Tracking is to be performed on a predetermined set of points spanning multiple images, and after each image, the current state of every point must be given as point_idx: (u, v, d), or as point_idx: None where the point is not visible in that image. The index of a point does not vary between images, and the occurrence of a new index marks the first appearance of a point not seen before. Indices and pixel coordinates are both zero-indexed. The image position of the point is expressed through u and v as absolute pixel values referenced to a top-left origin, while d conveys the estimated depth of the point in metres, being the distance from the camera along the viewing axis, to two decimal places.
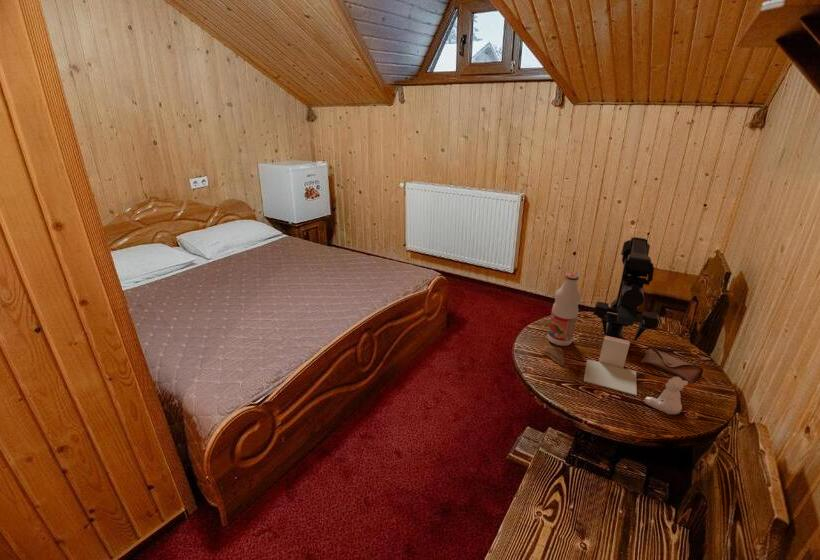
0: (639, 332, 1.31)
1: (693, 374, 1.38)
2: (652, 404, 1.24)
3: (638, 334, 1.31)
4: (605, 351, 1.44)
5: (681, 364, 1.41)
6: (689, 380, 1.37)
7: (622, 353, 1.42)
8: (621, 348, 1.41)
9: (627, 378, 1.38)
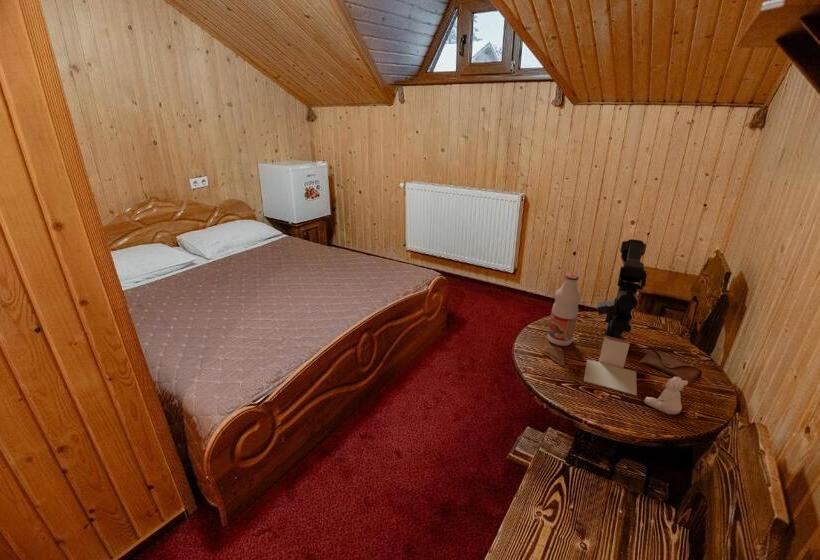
0: None
1: (691, 376, 1.37)
2: (652, 404, 1.24)
3: (614, 330, 1.48)
4: (605, 351, 1.44)
5: (680, 365, 1.40)
6: None
7: (622, 353, 1.42)
8: (621, 348, 1.41)
9: (627, 378, 1.38)
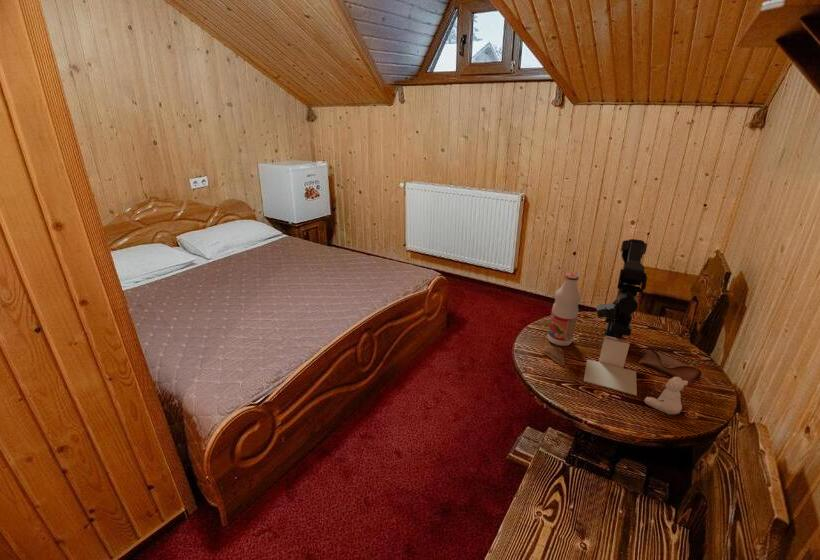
0: None
1: (691, 376, 1.37)
2: (652, 404, 1.24)
3: (614, 333, 1.45)
4: (605, 351, 1.44)
5: (679, 365, 1.40)
6: None
7: (622, 353, 1.42)
8: (621, 348, 1.41)
9: (627, 378, 1.38)
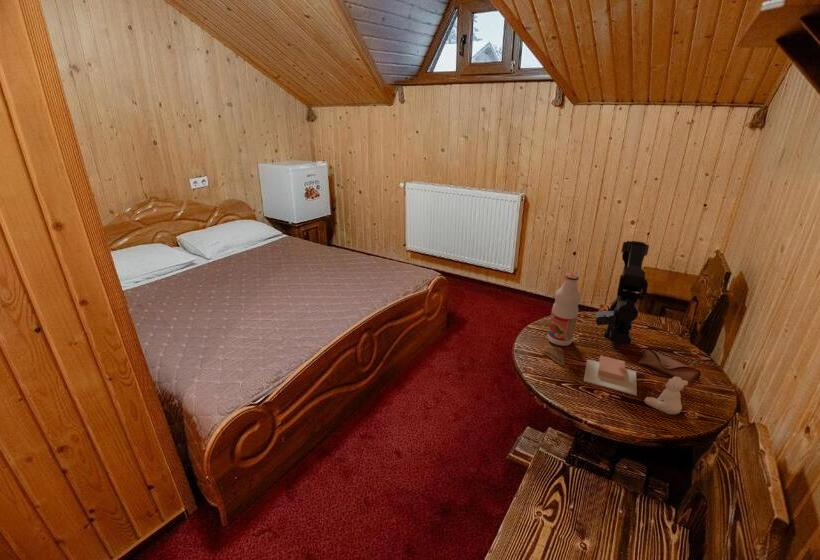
0: None
1: (690, 376, 1.37)
2: (652, 404, 1.24)
3: None
4: None
5: (678, 366, 1.39)
6: None
7: None
8: None
9: (627, 378, 1.38)
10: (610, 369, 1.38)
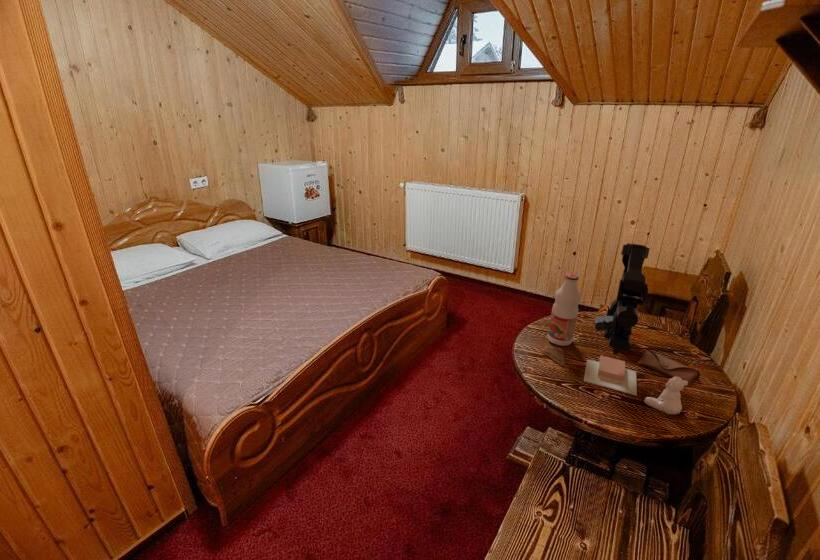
0: None
1: (689, 377, 1.36)
2: (652, 404, 1.24)
3: None
4: None
5: (678, 366, 1.39)
6: None
7: None
8: None
9: (627, 378, 1.38)
10: (610, 369, 1.38)
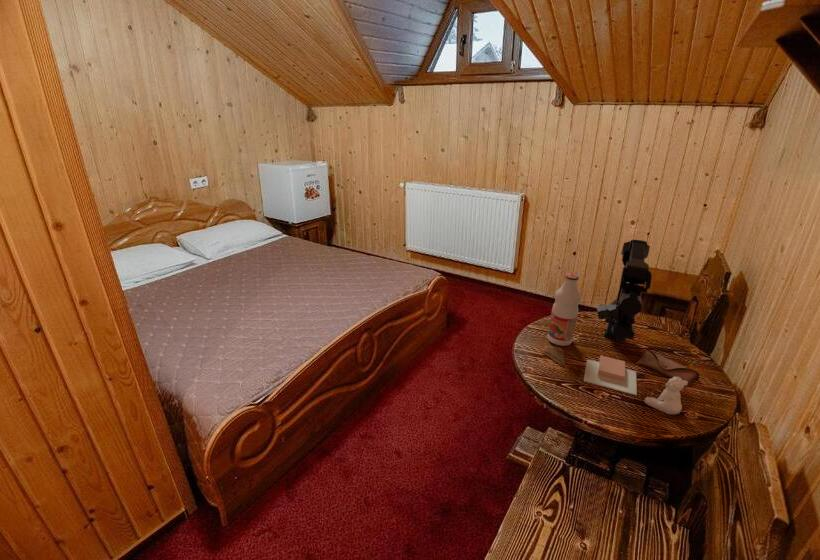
0: None
1: (688, 378, 1.36)
2: (652, 404, 1.24)
3: (616, 336, 1.35)
4: None
5: (677, 367, 1.39)
6: None
7: None
8: None
9: (627, 378, 1.38)
10: (610, 369, 1.38)
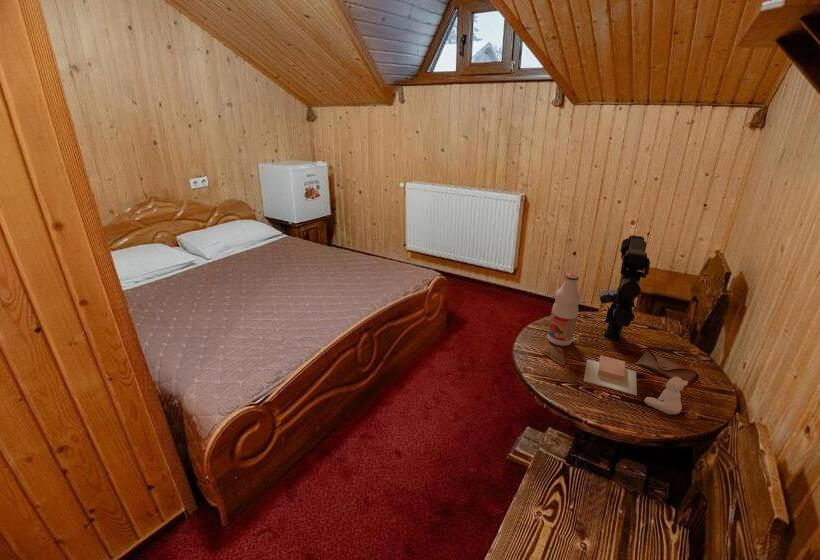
0: None
1: (687, 378, 1.35)
2: (652, 404, 1.24)
3: (617, 319, 1.46)
4: None
5: (676, 368, 1.39)
6: None
7: None
8: None
9: (627, 378, 1.38)
10: (610, 369, 1.38)
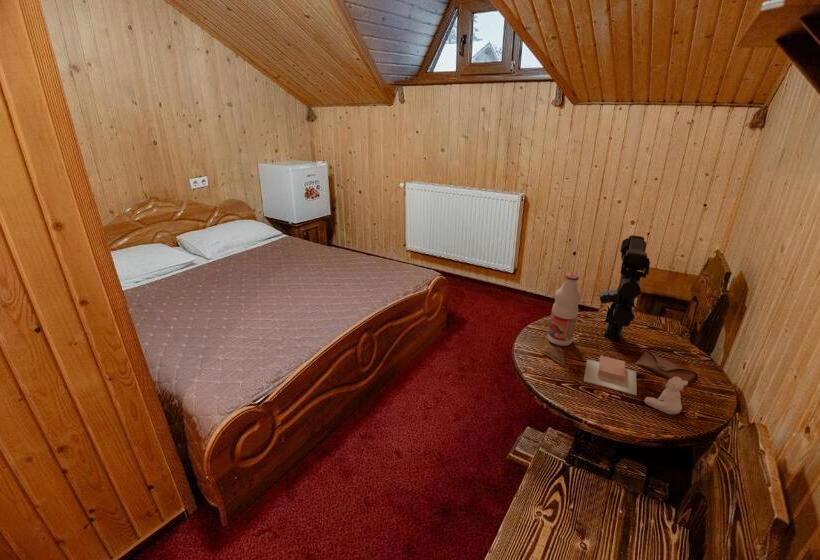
0: None
1: (686, 379, 1.35)
2: (652, 404, 1.24)
3: (617, 319, 1.46)
4: None
5: (675, 368, 1.38)
6: None
7: None
8: None
9: (627, 378, 1.38)
10: (610, 369, 1.38)
